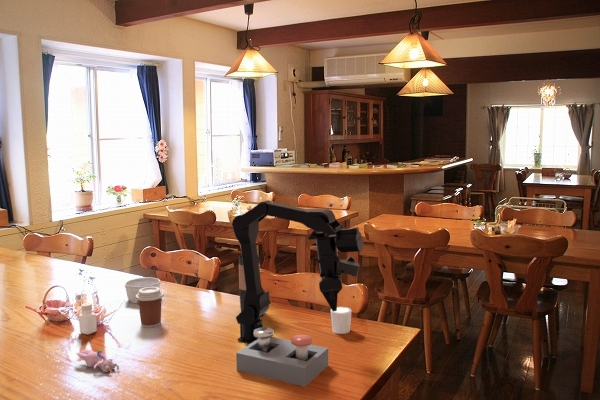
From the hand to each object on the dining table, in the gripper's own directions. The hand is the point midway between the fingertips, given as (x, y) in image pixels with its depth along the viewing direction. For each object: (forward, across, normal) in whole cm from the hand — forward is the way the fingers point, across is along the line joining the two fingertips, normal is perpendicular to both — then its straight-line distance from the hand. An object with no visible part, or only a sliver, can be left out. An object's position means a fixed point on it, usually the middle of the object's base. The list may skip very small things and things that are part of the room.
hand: (334, 306), depth 158 cm
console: (+12, -10, +16) cm, 23 cm away
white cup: (+14, +18, 0) cm, 22 cm away
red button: (+9, -13, +10) cm, 19 cm away
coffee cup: (+5, +22, +64) cm, 67 cm away
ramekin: (+3, +48, +75) cm, 90 cm away
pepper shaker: (+3, +14, +82) cm, 83 cm away
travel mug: (+9, +36, +32) cm, 49 cm away
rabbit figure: (+6, -11, +68) cm, 69 cm away
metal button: (+8, -8, +21) cm, 24 cm away
